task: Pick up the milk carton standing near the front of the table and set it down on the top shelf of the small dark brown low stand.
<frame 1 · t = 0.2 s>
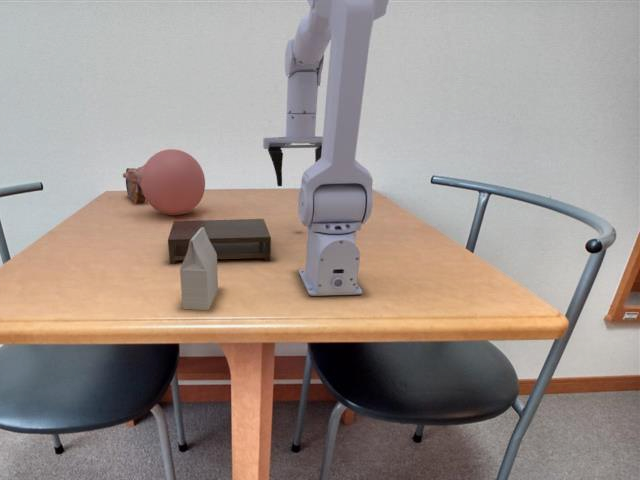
hand: (298, 185, 89), 10 cm above the table, tool pointing down, fingers open, 7 cm apart
milk carton: (201, 300, 64), on the table
balloon: (166, 214, 108), on the table
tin: (137, 200, 123), on the table
dark brown low stand: (219, 251, 83), on the table
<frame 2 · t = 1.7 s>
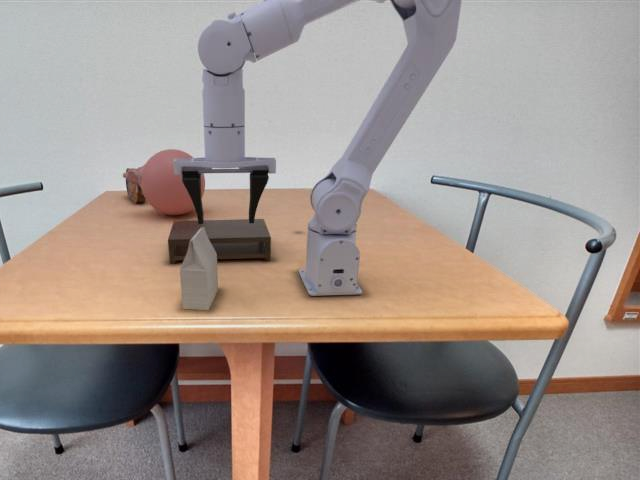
hand: (226, 222, 66), 10 cm above the table, tool pointing down, fingers open, 7 cm apart
nothing on the table moved.
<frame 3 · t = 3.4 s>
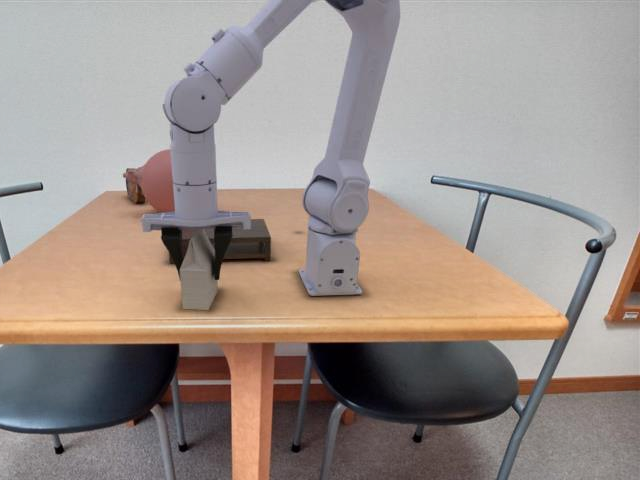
hand: (200, 277, 62), 3 cm above the table, tool pointing down, fingers closed on milk carton, 4 cm apart
milk carton: (201, 300, 64), on the table, touching gripper
everything else where it was.
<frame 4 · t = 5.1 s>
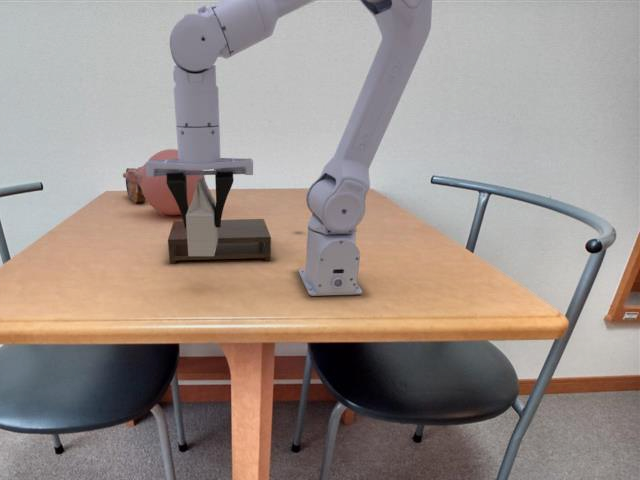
hand: (202, 226, 63), 10 cm above the table, tool pointing down, fingers closed on milk carton, 4 cm apart
milk carton: (203, 249, 65), point 6 cm above the table, touching gripper
everything else where it was.
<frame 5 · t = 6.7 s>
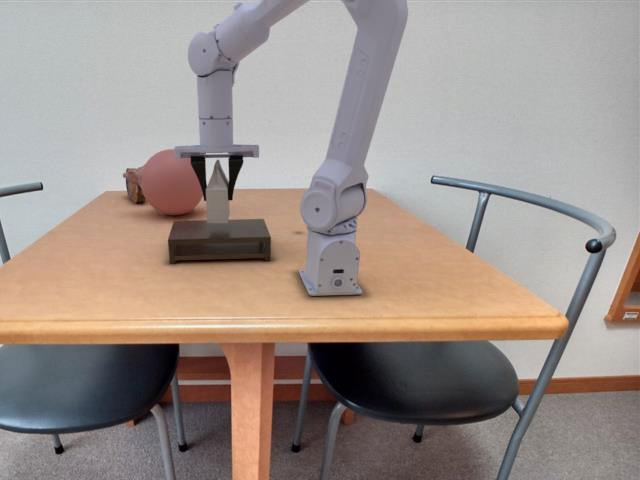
hand: (218, 199, 78), 10 cm above the table, tool pointing down, fingers closed on milk carton, 4 cm apart
milk carton: (218, 219, 80), point 6 cm above the table, touching gripper
everything else where it was.
when the fingers open (8 cm above the table, at t = 8.2 s): milk carton stays where it is, resting on dark brown low stand.
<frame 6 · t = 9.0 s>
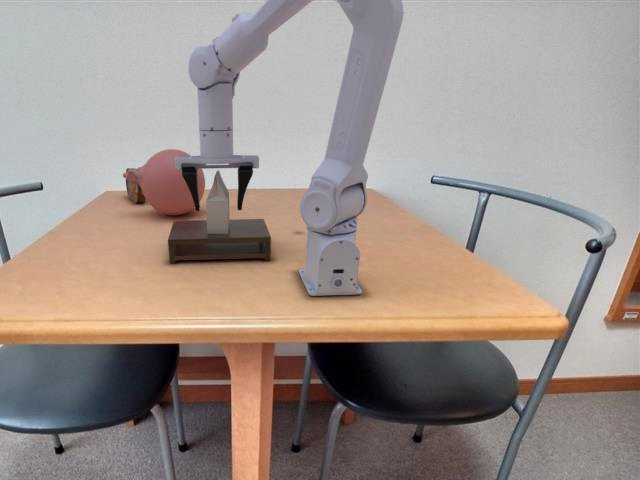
hand: (218, 209, 79), 8 cm above the table, tool pointing down, fingers open, 7 cm apart
milk carton: (219, 229, 81), point 4 cm above the table, touching dark brown low stand
everything else where it was.
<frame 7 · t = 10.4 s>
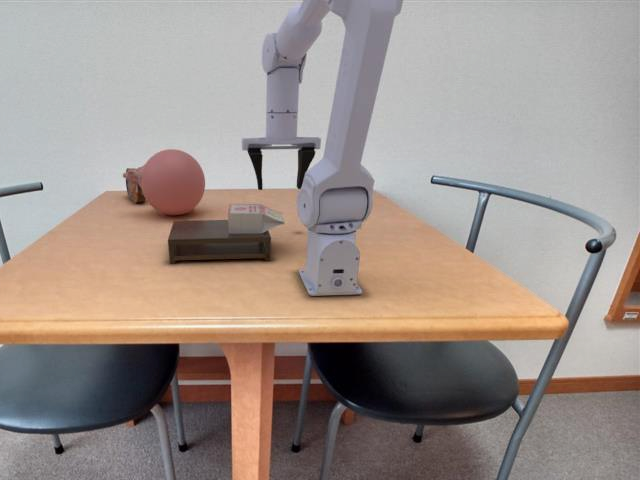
hand: (279, 188, 84), 10 cm above the table, tool pointing down, fingers open, 7 cm apart
milk carton: (227, 218, 80), point 6 cm above the table, touching dark brown low stand
everything else where it was.
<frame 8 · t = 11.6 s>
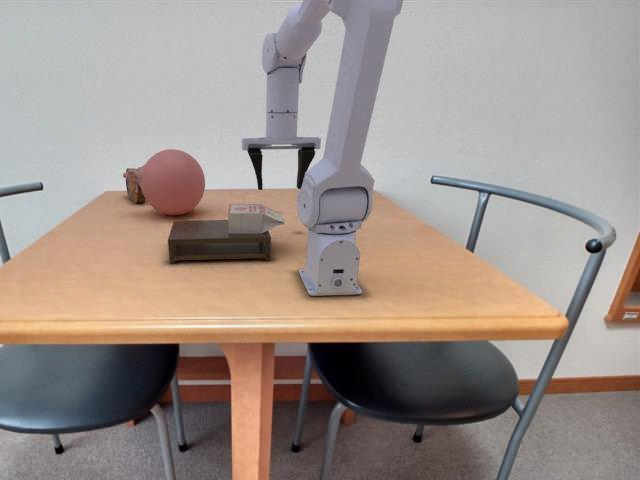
hand: (279, 188, 84), 10 cm above the table, tool pointing down, fingers open, 7 cm apart
nothing on the table moved.
at the end: milk carton inside the target area on the dark brown low stand (1.6 cm from its centre), point 6.4 cm above the dark brown low stand's base; the gripper is holding nothing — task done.
